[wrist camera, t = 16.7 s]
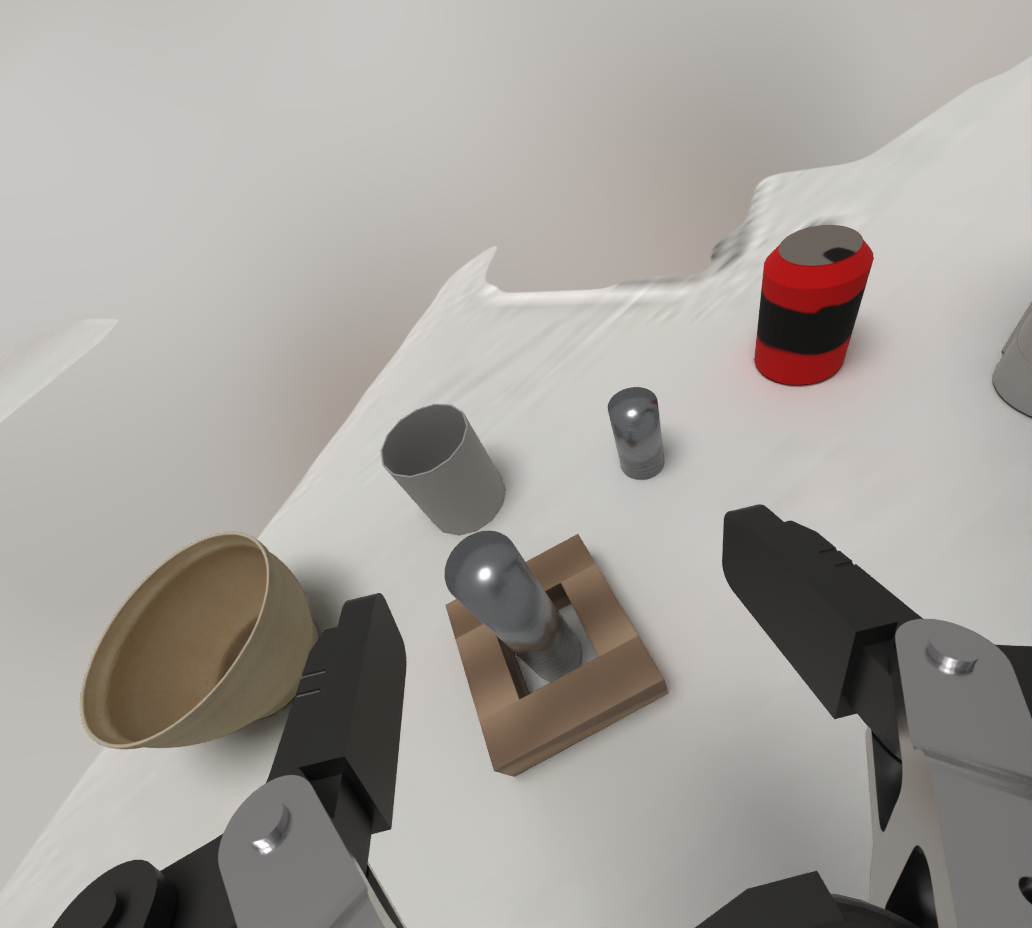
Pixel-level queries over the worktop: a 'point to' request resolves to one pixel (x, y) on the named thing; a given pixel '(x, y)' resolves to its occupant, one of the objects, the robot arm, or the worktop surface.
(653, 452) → the short steel pin
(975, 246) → the worktop surface
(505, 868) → the worktop surface
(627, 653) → the walnut bored block
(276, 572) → the planter bowl
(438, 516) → the cup
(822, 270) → the soda can
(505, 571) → the long steel pin
